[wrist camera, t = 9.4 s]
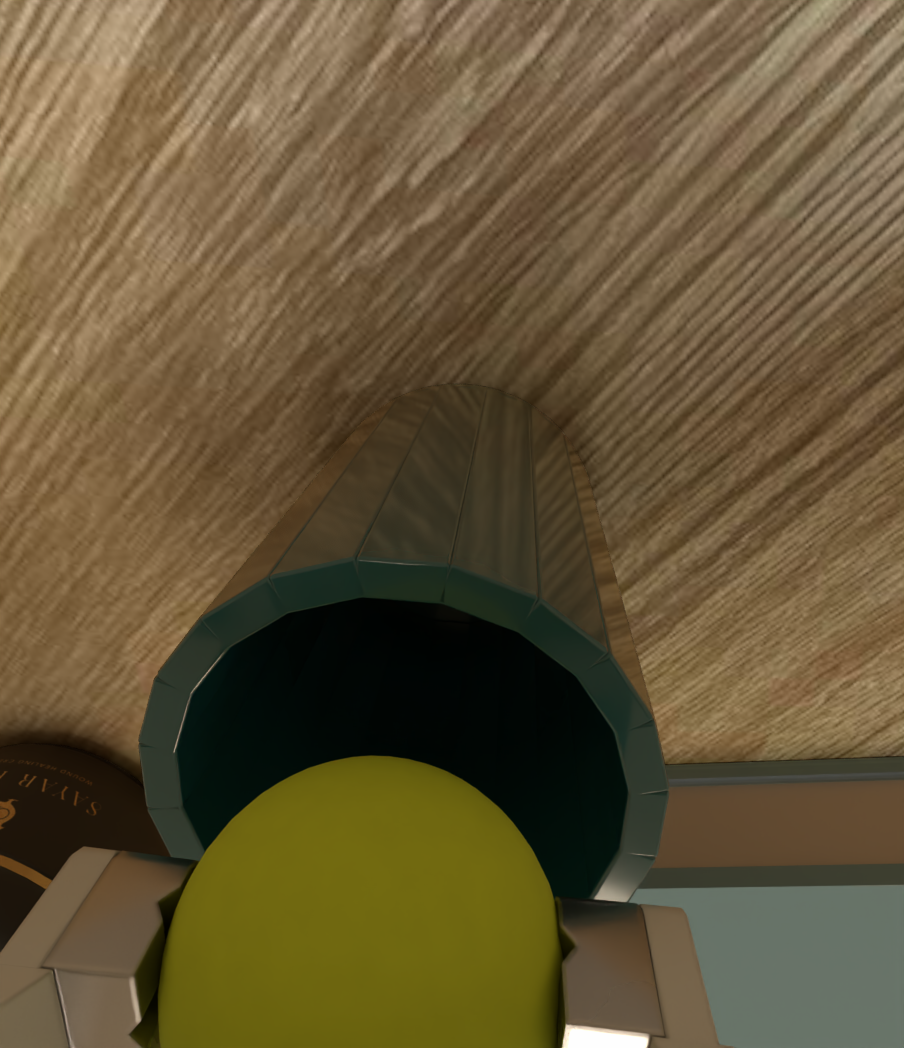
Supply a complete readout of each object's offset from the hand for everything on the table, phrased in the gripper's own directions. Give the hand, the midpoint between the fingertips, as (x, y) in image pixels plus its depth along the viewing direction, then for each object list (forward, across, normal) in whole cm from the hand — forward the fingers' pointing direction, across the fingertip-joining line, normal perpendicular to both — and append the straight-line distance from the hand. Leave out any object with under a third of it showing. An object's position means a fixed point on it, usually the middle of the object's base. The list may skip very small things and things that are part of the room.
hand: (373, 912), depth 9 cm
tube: (+14, 0, 0) cm, 14 cm away
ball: (-1, 0, 0) cm, 1 cm away
